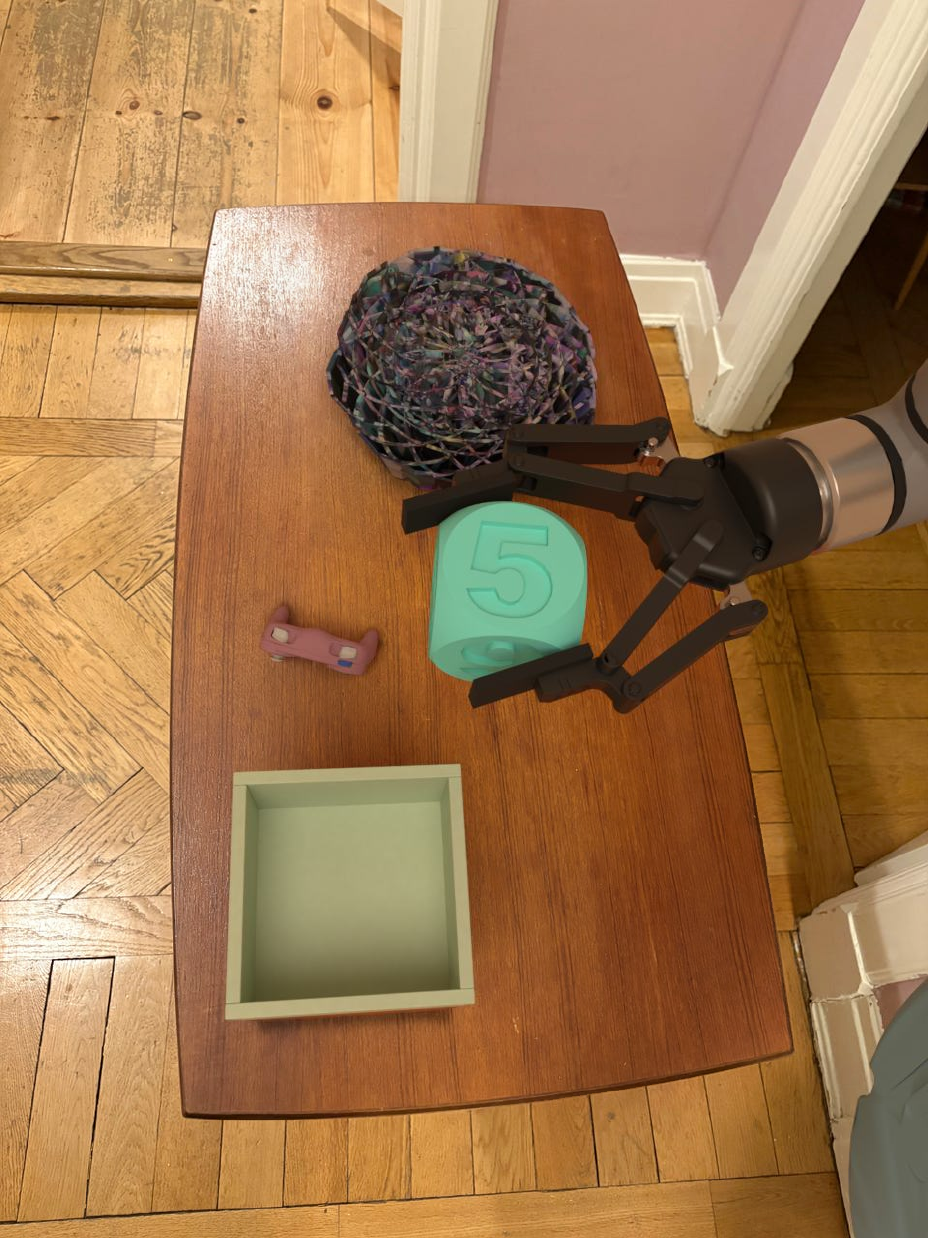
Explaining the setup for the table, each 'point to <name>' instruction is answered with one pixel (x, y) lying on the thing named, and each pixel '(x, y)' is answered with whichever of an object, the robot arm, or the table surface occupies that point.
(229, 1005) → the bin
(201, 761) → the table surface
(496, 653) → the decorative dice
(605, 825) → the table surface
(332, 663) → the video game controller
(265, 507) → the table surface
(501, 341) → the decorative bowl
